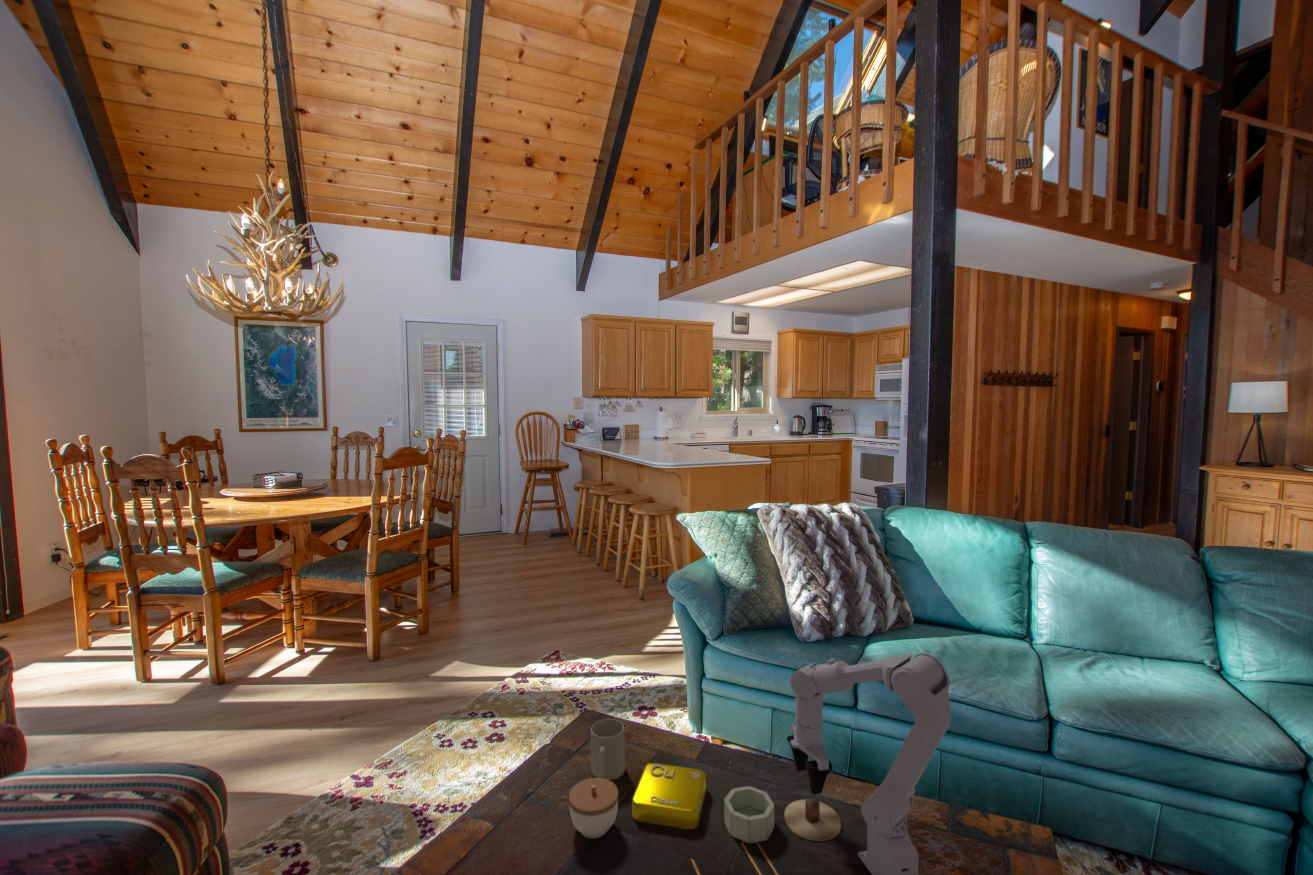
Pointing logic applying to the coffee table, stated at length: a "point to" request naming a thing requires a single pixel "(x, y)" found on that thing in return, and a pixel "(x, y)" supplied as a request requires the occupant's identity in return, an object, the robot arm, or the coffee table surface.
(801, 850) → the coffee table surface
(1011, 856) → the coffee table surface
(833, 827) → the lid
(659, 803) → the element tile
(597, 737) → the mug
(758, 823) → the bowl
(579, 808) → the lidded jar
